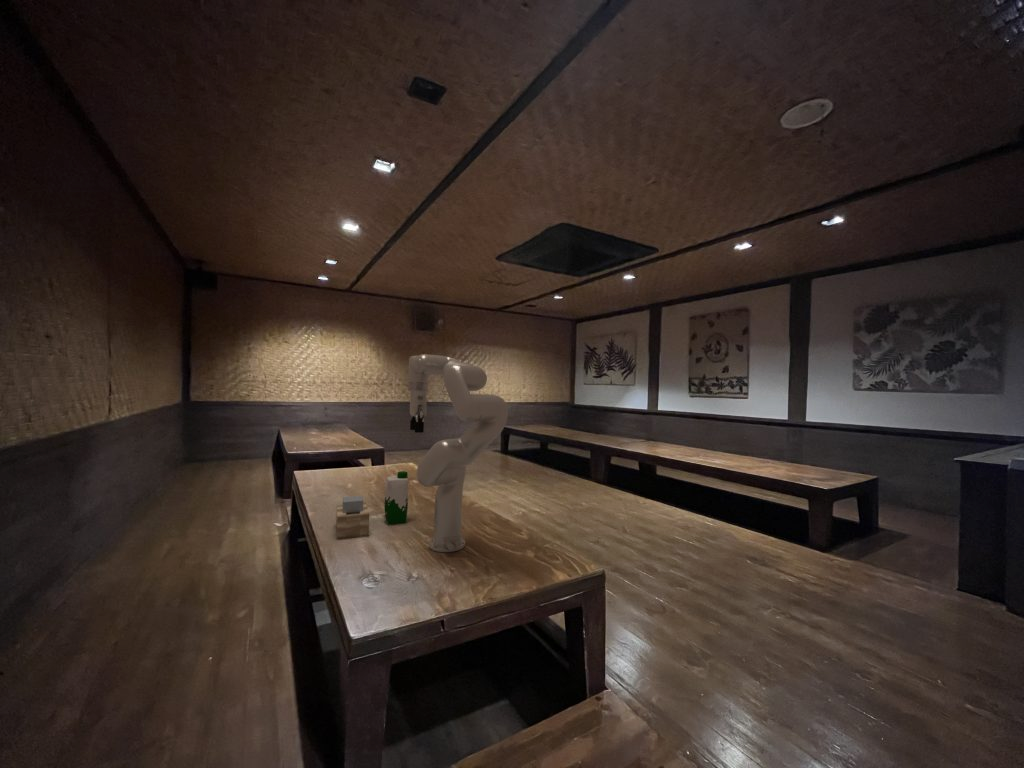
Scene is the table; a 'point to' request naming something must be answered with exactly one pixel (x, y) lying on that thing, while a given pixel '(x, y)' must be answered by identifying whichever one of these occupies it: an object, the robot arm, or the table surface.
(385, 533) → the table surface
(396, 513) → the milk carton
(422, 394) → the robot arm
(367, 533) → the slot rack
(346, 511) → the t peg
